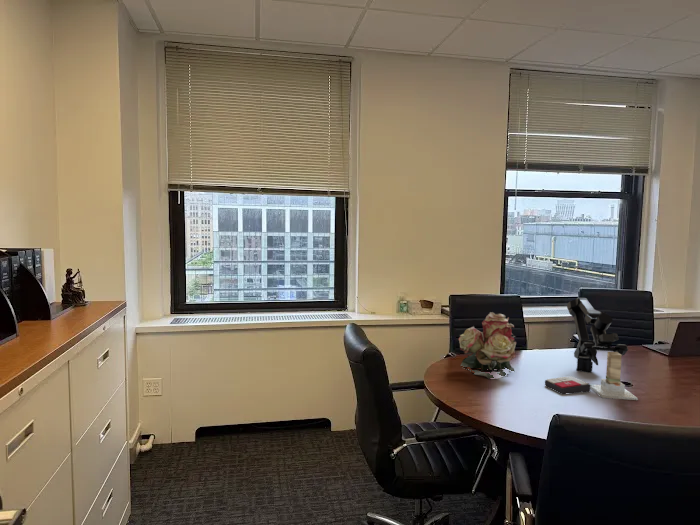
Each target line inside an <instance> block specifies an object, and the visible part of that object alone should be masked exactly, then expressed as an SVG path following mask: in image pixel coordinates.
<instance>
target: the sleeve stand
mask: <svg viewBox="0 0 700 525" xmlns="http://www.w3.org/2000/svg"><path fill="white" fill-rule="evenodd" d="M589 384H590V383H589ZM625 387H626V384H624V383H623V382H622V381H620V384H618V383H609V382H608V381H606V378H601V380H600V384H590V390H592V389H593V390H592V391H593V392H595V393H596V394H597V395H598V396H599V395H600V396H601V397H600V396H599V397H600V398H602V399H612V398H613V399H614V400H615V399H616V400H629V401H638V400H639V399H638V397H637V396H635V395H634V394H633V393H632V392H630V391H629V390H627V389H626V388H625Z"/></svg>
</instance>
